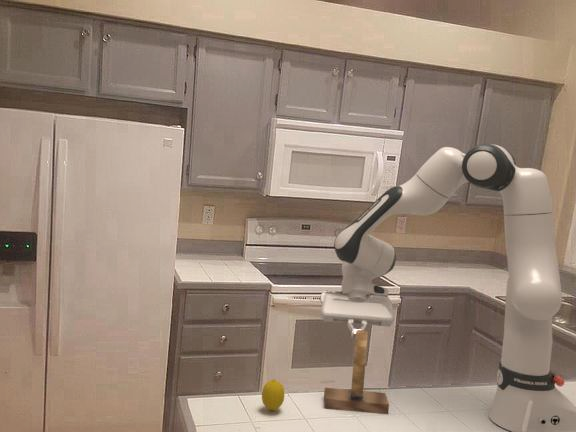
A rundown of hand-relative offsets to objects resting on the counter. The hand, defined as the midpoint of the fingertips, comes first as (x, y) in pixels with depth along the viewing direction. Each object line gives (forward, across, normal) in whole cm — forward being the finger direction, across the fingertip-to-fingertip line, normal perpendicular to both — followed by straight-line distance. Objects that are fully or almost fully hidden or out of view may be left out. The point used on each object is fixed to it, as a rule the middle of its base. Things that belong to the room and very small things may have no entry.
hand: (357, 336), depth 141 cm
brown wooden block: (+16, 0, +6) cm, 17 cm away
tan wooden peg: (+15, 0, +2) cm, 16 cm away
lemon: (+22, -21, +1) cm, 30 cm away
